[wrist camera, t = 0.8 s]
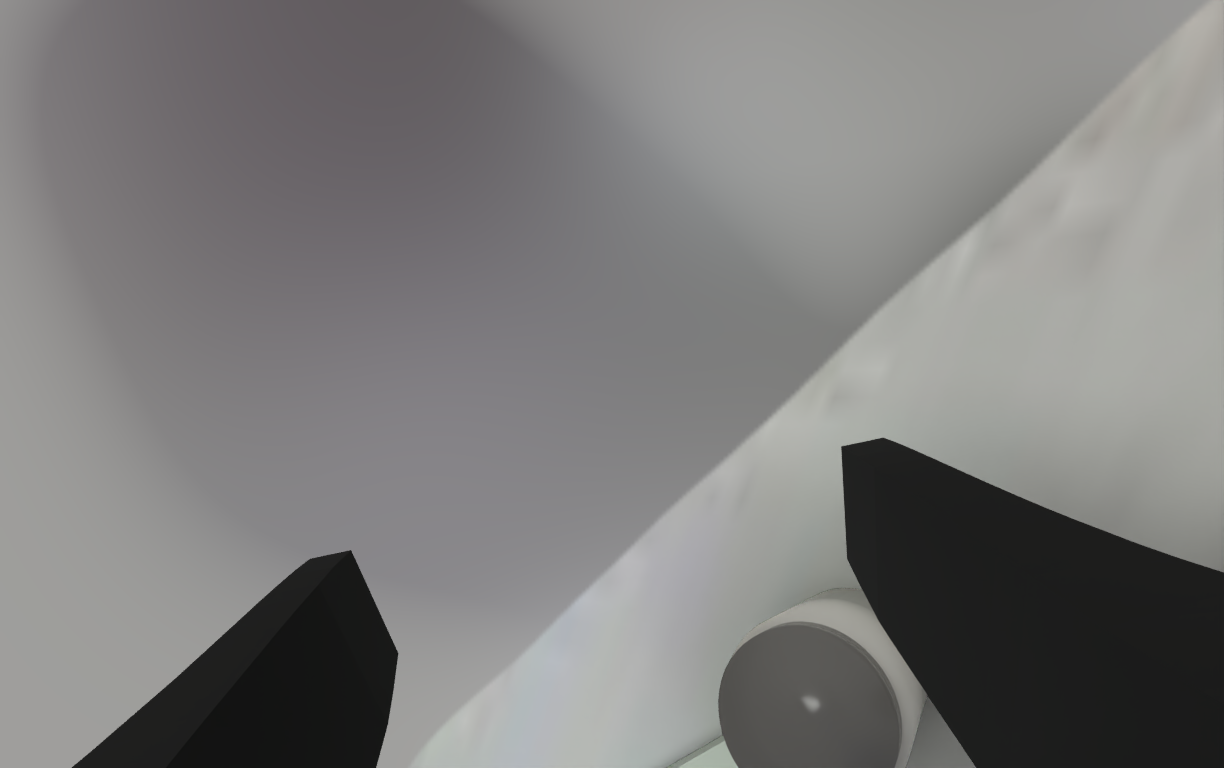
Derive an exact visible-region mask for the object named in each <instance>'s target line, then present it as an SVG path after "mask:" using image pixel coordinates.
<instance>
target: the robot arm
mask: <svg viewBox="0 0 1224 768" xmlns="http://www.w3.org/2000/svg"><path fill="white" fill-rule="evenodd" d="M841 448H842V467H843V487H844V506H845V525H846V544H847V559H848V561H849V563H850V566H851V568H852V570H853V572H854V574H855V576H856V578H857V580H858V582H859V584H860V586H861V588H862V590H863V592H864V594H865V596H866V598H867V600H868V602H869V604H870V606H871V608H872V609H873V611H874V613H875V615H876V617H877V619H878V621H879V623H880V624H881V626H882V627H883V629H884V630H885V632H886V633H887V635H888V636H889V638H890V640H891V641H892V643H893V644H894V646H895V647H896V649H897V650H898V652H899V653H900V655H901V656H902V658H903V659H904V661H905V662H906V664H907V665H908V667H909V668H910V670H911V671H912V673H913V674H914V676H915V677H916V679H917V680H918V682H919V683H920V685H921V686H922V688H923V689H924V691H925V692H926V694H927V695H928V697H929V698H930V700H931V701H932V702H933V704H934V705H935V707H936V708H937V710H938V711H939V713H940V714H941V716H942V717H943V719H944V720H945V722H946V723H947V725H948V726H949V728H950V729H951V731H952V732H953V734H954V735H955V737H956V738H957V740H958V741H959V743H960V744H961V746H962V747H963V749H964V750H965V752H966V753H967V755H968V756H969V758H970V759H971V761H972V762H973V763H974V765H975V766H976V768H1224V573H1223V572H1220V571H1217V570H1214V569H1211V568H1208V567H1204V566H1201V565H1198V564H1195V563H1192V562H1189V561H1186V560H1183V559H1180V558H1177V557H1174V556H1171V555H1168V554H1165V553H1162V552H1159V551H1157V550H1154V549H1151V548H1148V547H1145V546H1142V545H1140V544H1137V543H1134V542H1131V541H1129V540H1126V539H1124V538H1121V537H1118V536H1116V535H1113V534H1111V533H1108V532H1105V531H1103V530H1100V529H1097V528H1095V527H1092V526H1090V525H1087V524H1084V523H1082V522H1079V521H1077V520H1074V519H1071V518H1069V517H1067V516H1064V515H1062V514H1059V513H1057V512H1054V511H1052V510H1049V509H1047V508H1044V507H1042V506H1040V505H1037V504H1035V503H1033V502H1030V501H1028V500H1025V499H1023V498H1021V497H1018V496H1016V495H1014V494H1011V493H1009V492H1007V491H1005V490H1002V489H1000V488H998V487H995V486H993V485H991V484H989V483H986V482H984V481H982V480H980V479H977V478H975V477H973V476H971V475H968V474H966V473H964V472H962V471H960V470H957V469H955V468H953V467H951V466H948V465H946V464H944V463H942V462H940V461H937V460H935V459H933V458H931V457H928V456H926V455H924V454H922V453H919V452H917V451H915V450H913V449H910V448H908V447H906V446H903V445H901V444H898V443H896V442H893V441H891V440H888V439H885V438H880V439H875V440H870V441H866V442H861V443H856V444H851V445H847V446H842V447H841ZM397 659H398V652H397V650H396V647H395V645H394V643H393V641H392V639H391V636H390V634H389V632H388V631H387V628H386V626H385V624H384V621H383V619H382V617H381V615H380V612H379V610H378V608H377V606H376V604H375V602H374V599H373V597H372V595H371V593H370V591H369V588H368V586H367V584H366V582H365V580H364V578H363V575H362V573H361V571H360V569H359V567H358V564H357V562H356V560H355V558H354V556H353V554H352V551H351V550H350V551H345V552H341V553H336V554H331V555H326V556H322V557H317V558H312V559H310V560H308V561H307V562H305V563H304V564H303V565H302V566H300V567H299V568H298V569H296V570H295V571H294V572H293V573H292V574H291V575H289V576H288V577H287V578H286V579H285V580H283V581H282V582H281V583H280V584H279V585H278V586H277V587H275V588H274V589H273V590H272V591H271V592H270V593H269V594H268V595H266V596H265V597H264V598H263V599H262V600H261V601H260V602H259V603H258V604H256V605H255V606H254V607H253V608H252V609H251V610H250V611H249V612H248V613H247V614H246V615H244V616H243V617H242V618H241V619H240V620H239V621H238V622H237V623H236V624H235V625H234V626H233V627H231V628H230V629H229V630H228V631H227V632H226V633H225V634H224V635H223V636H222V637H220V638H219V639H218V640H217V641H216V642H215V643H214V644H213V645H212V646H211V647H209V648H208V649H207V650H206V651H205V652H204V653H203V654H202V655H201V656H200V657H199V658H197V659H196V660H195V661H194V662H193V663H192V664H191V665H190V666H189V667H188V668H187V669H185V670H184V671H183V672H182V673H181V674H180V675H179V676H178V677H177V678H176V679H174V680H173V681H172V682H171V683H170V684H169V685H167V686H166V687H165V688H164V689H163V690H162V691H161V692H160V693H158V694H157V695H156V696H155V697H154V698H152V699H151V700H150V701H149V702H148V703H147V704H146V705H144V706H143V707H142V708H141V709H140V710H139V711H137V713H135V714H134V715H133V716H132V717H130V718H129V719H128V720H127V721H126V722H125V723H124V724H122V725H121V726H120V727H119V728H118V729H117V730H115V731H114V732H113V733H112V734H111V735H110V736H109V737H107V738H106V739H105V740H104V741H103V742H102V743H101V744H99V745H98V746H97V747H96V748H95V749H93V750H92V751H91V752H90V753H89V754H88V755H86V756H85V757H84V758H83V759H82V760H80V761H79V762H78V763H77V764H75V765H74V766H73V767H72V768H376V766H377V762H378V758H379V755H380V751H381V748H382V744H383V740H384V736H385V733H386V729H387V725H388V719H389V714H390V708H391V701H392V695H393V689H394V681H395V673H396V665H397Z"/></svg>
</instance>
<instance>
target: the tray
mask: <svg viewBox="0 0 1224 768" xmlns="http://www.w3.org/2000/svg"><path fill="white" fill-rule="evenodd" d="M667 768H738V766H737V765H736V763H735V762H734V760H733V758H732V756H731V754H730V752H729V750H728V748H727V745H726V742H725V739H724V736H723V735H722V736H721V737H719V738H717V739H716V740H714V741H712V742H710V743H709V744H707V745H705V746H703V747H702V748H700V749H698V750H696V751H695V752H693V753H691V754H690V755H688V756H686V757H684V758H683V759H681V760H679V761H677V762H676V763H674V764H672V765H670V766H669V767H667Z"/></svg>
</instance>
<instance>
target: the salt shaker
mask: <svg viewBox="0 0 1224 768" xmlns="http://www.w3.org/2000/svg"><path fill="white" fill-rule="evenodd" d="M926 698H927V694H926V692H925V691H924V689H923V688H922V686H921V685H920V683H919V682H918V680H917V679H916V677H915V676H914V674H913V673H912V671H911V670H910V668H909V667H908V665H907V664H906V662H905V661H904V659H903V658H902V656H901V655H900V653H899V652H898V650H897V649H896V647H895V646H894V644H893V643H892V641H891V640H890V638H889V636H888V635H887V633H886V632H885V630H884V629H883V627H882V626H881V624H880V623H879V621H878V619H877V617H876V615H875V613H874V611H873V609H872V608H871V606H870V604H869V602H868V600H867V598H866V596H865V594H864V592H863V590H859V589H853V588H838V589H832V590H827V591H825V592H822V593H819V594H817V595H815V596H813V597H811V598H809V599H807V600H805V601H803V602H802V603H800V604H798V605H796V606H794V607H792V608H790V609H788V610H786V611H784V612H782V613H780V614H778V615H776V616H774V617H772V618H770V619H768V620H766V621H764V622H762V623H760V624H759V625H757V626H756V627H755V628H753V629H752V630H751V631H750V632H749V633H748V634H747V635H746V636H745V637H744V638H743V639H742V641H741V642H740V643H739V645H738V646H737V648H736V650H735V652H734V653H733V655H732V658H731V659H730V661H729V663H728V665H727V667H726V669H725V672H724V674H723V677H722V681H721V685H720V690H719V700H718V702H719V718H720V725H721V729H722V733H723V736H724V739H725V742H726V745H727V748H728V750H729V752H730V754H731V756H732V758H733V760H734V762H735V763H736V765H737V766H738V768H906V765H907V762H908V759H909V756H910V753H911V749H912V746H913V743H914V739H915V736H916V732H917V729H918V726H919V722H920V719H921V715H922V712H923V708H924V705H925V702H926Z"/></svg>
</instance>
